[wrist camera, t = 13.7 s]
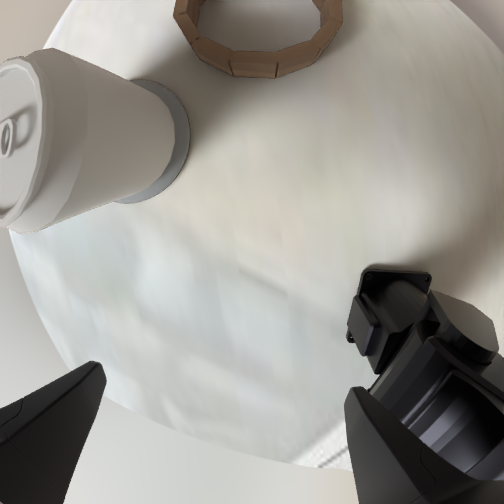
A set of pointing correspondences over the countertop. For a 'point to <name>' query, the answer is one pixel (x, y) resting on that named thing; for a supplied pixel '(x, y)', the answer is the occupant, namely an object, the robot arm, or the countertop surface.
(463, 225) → the countertop surface
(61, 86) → the can
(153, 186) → the mat
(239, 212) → the countertop surface
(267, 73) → the collar
